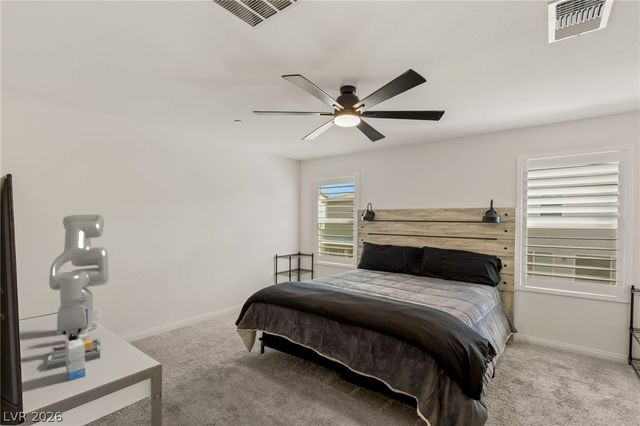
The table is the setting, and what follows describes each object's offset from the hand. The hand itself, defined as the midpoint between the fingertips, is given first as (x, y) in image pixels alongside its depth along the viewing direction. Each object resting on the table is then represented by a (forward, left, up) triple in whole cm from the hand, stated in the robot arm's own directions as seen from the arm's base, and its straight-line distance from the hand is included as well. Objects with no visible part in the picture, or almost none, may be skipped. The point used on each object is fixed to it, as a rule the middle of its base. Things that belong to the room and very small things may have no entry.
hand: (72, 344), depth 139 cm
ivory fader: (0, +4, -1) cm, 4 cm away
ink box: (+26, +2, -3) cm, 26 cm away
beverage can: (-15, +2, -3) cm, 16 cm away
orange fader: (+10, +6, -1) cm, 12 cm away
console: (+5, +1, -3) cm, 6 cm away
